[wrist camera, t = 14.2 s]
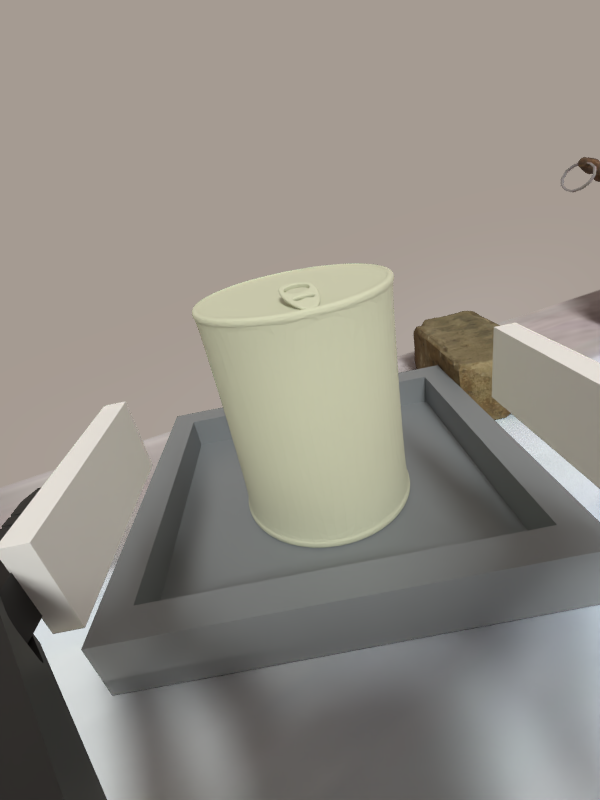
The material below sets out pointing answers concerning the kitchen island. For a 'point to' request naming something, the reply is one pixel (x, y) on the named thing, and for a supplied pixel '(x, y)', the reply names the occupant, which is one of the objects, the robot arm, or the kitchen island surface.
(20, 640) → the robot arm
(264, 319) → the can
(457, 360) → the stone block
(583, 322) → the kitchen island surface
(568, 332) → the kitchen island surface
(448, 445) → the tray
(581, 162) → the coffee pot
